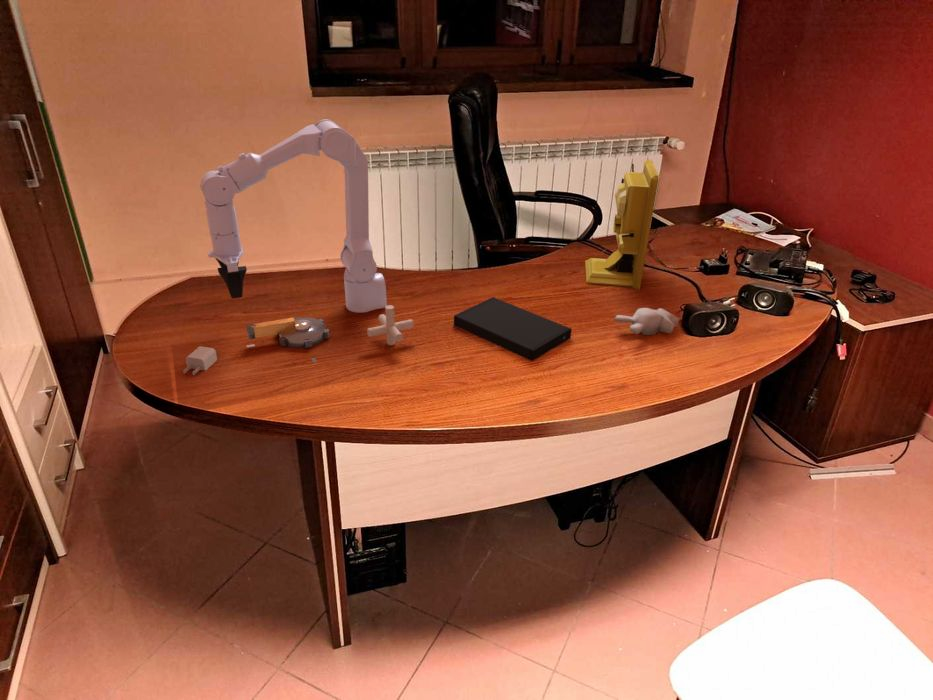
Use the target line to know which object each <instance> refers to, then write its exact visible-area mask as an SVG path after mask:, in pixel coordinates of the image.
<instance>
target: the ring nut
mask: <svg viewBox="0 0 933 700" xmlns="http://www.w3.org/2000/svg"><path fill="white" fill-rule="evenodd" d="M245 328H246V334H247V339H248V340H254V339H258V338H265V337H270V336H279V344H280V346H283V347H284V348H285V347H286V346H287V347H290V348H305V349H309V348H313V346H316V345H318V344H320V343H322V342H323V341H324V340H325V339H327V340H328V339H329V338H330V336H331V335H330V333H331V332H330V329H329V328H327V327H326V323H325V319H322V318H314V317H300V316H299V317H288V318H282V319H276V320H269V321H263V322H259V323H250V324H247V325H246V326H245Z"/></svg>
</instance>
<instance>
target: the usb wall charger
mask: <svg viewBox="0 0 933 700" xmlns="http://www.w3.org/2000/svg"><path fill="white" fill-rule="evenodd" d="M217 361H218V355H217V350H215V348H213V347H206V346H198V347H197V348H195V349H194V350H193V352H191V353H190V354H188V356H186V357H185V362H186V367H185V369H183V370H182V371H183V374H186V373H187V372H188V371H189V370H191V369H194V370H193V371H192V375H193V376H195V375H196V374H197V373H198V372H199V371H200V370H201V371H207V370H208V369H209V368H210V367H211V366H212V365H213V364H214V363H216V362H217Z"/></svg>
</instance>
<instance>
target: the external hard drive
mask: <svg viewBox="0 0 933 700" xmlns="http://www.w3.org/2000/svg"><path fill="white" fill-rule="evenodd" d="M453 327H456V328H459V329H461V330H463V331H465V332H467V333H469V334H472V335H474V336H476V337H479V338H481V339H483V340H485V341H487V342H489V343H492V344H493V345H495V346H498V347H500V348H502V349H504V350H506V351H509V352H511V353H513V354H515V355H518V356H520V357H521V358H524V359H526V360H528V361H530V362H533V361H536V360H537V359H538V358H541V356H544V355H546V354H547V353H549V352H550V351H552V350H554V349H555V348H558V346H561V345H562V344H564V343H565V342H567V341H569V340H570V339H571V337H572V331H573V330H572V328H571V327H568V326H565V325H563V324H561V323H558V322H555V321H553V320H550V319H548V318H546V317H544V316H541V315H538V314H535V313H534V312H531V311H530V310H529V311H528V310H526V309H523V308H522V307H519V306H516V305H514V304H512V303H509V302H507V301H504V300H501V299H499V298H497V297H491V298H488V299H486V300H484V301H482V302H480V303H478V304H475V305H473V306H472V307H469V308H466V309H465V310H462V311H461V312H459V313H456V314H455V315H454V316H453Z"/></svg>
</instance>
